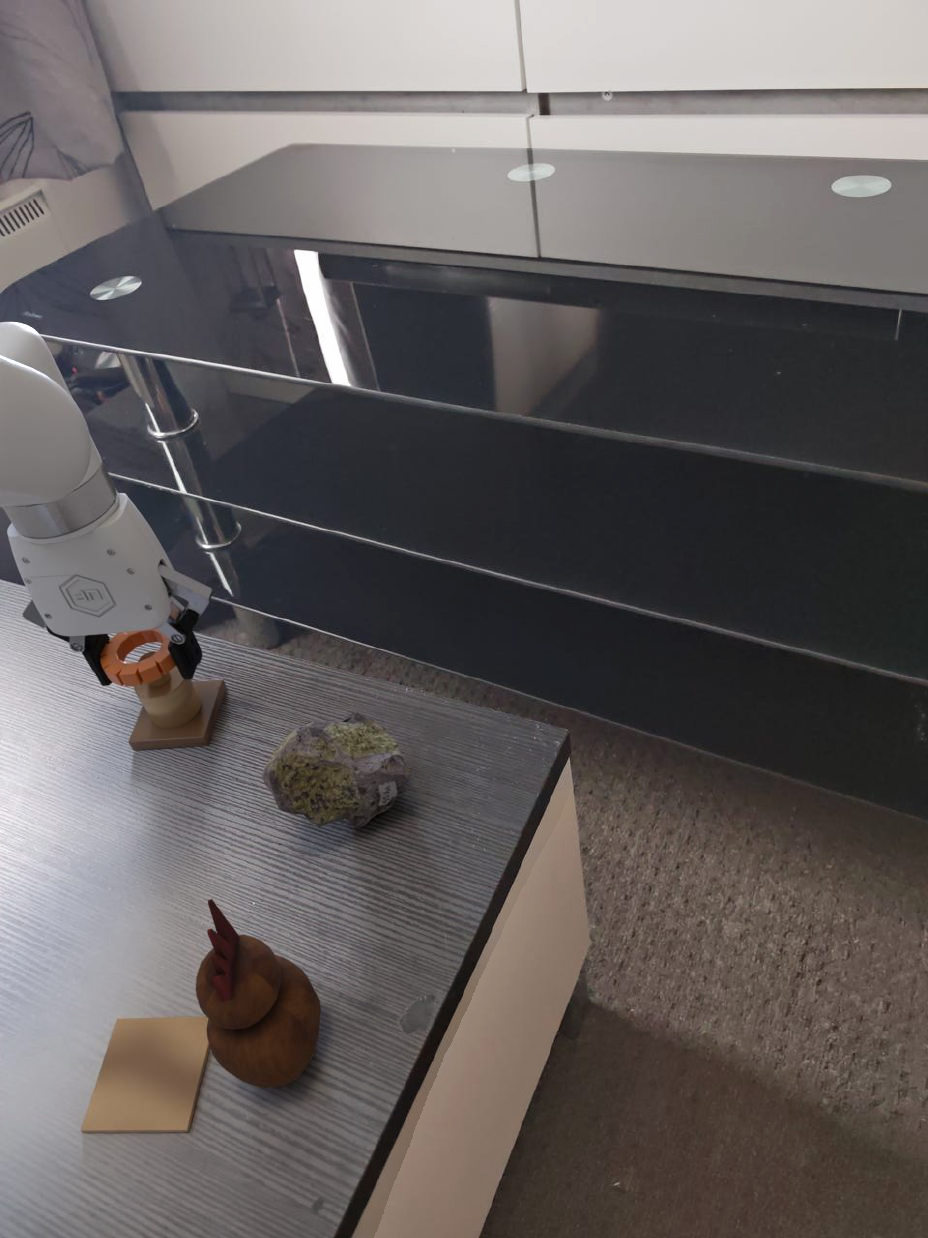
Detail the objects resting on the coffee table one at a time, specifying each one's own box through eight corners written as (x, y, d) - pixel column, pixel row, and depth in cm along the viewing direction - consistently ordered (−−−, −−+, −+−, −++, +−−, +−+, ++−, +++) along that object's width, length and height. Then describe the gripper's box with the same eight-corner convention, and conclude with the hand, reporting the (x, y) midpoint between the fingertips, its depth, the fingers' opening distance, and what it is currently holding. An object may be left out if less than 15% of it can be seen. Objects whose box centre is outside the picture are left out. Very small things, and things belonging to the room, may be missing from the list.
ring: (171, 683, 74) (165, 671, 74) (95, 689, 75) (88, 677, 74) (193, 628, 79) (187, 616, 78) (122, 634, 80) (115, 623, 79)
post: (208, 746, 80) (176, 686, 75) (133, 750, 81) (96, 692, 76) (227, 687, 85) (199, 627, 80) (156, 692, 86) (124, 634, 81)
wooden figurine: (267, 990, 62) (189, 868, 52) (344, 1008, 60) (279, 886, 50) (221, 1092, 58) (126, 980, 48) (302, 1116, 56) (222, 1004, 46)
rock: (373, 886, 67) (340, 805, 60) (269, 845, 71) (227, 765, 64) (441, 776, 73) (418, 691, 67) (342, 744, 78) (311, 661, 71)
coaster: (189, 1132, 56) (187, 1130, 56) (83, 1133, 57) (80, 1130, 57) (217, 1018, 61) (215, 1016, 61) (119, 1021, 62) (116, 1018, 62)
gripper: (-73, 539, 65) (41, 710, 77) (157, 516, 63) (239, 696, 74) (-25, 481, 71) (74, 648, 82) (187, 457, 68) (259, 633, 80)
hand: (152, 669), depth 78 cm, fingers closed on ring, 6 cm apart
